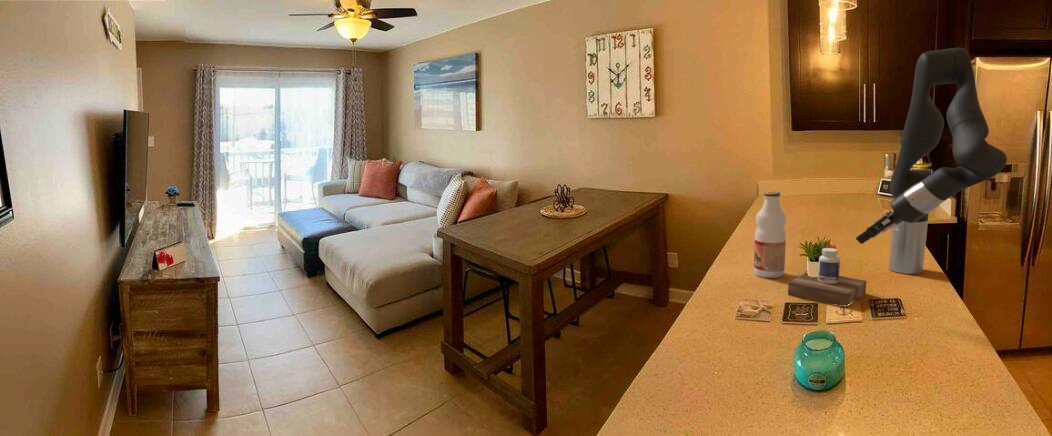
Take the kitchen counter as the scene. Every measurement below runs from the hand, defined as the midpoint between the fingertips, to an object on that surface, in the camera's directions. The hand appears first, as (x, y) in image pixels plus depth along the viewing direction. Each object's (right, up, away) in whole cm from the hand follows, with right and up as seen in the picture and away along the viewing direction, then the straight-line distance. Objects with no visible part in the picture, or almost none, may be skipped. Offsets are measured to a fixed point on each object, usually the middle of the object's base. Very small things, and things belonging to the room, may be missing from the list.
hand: (864, 238), depth 149 cm
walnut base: (-5, -17, +10) cm, 20 cm away
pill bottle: (-5, -13, +9) cm, 17 cm away
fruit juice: (-13, -14, +31) cm, 36 cm away
